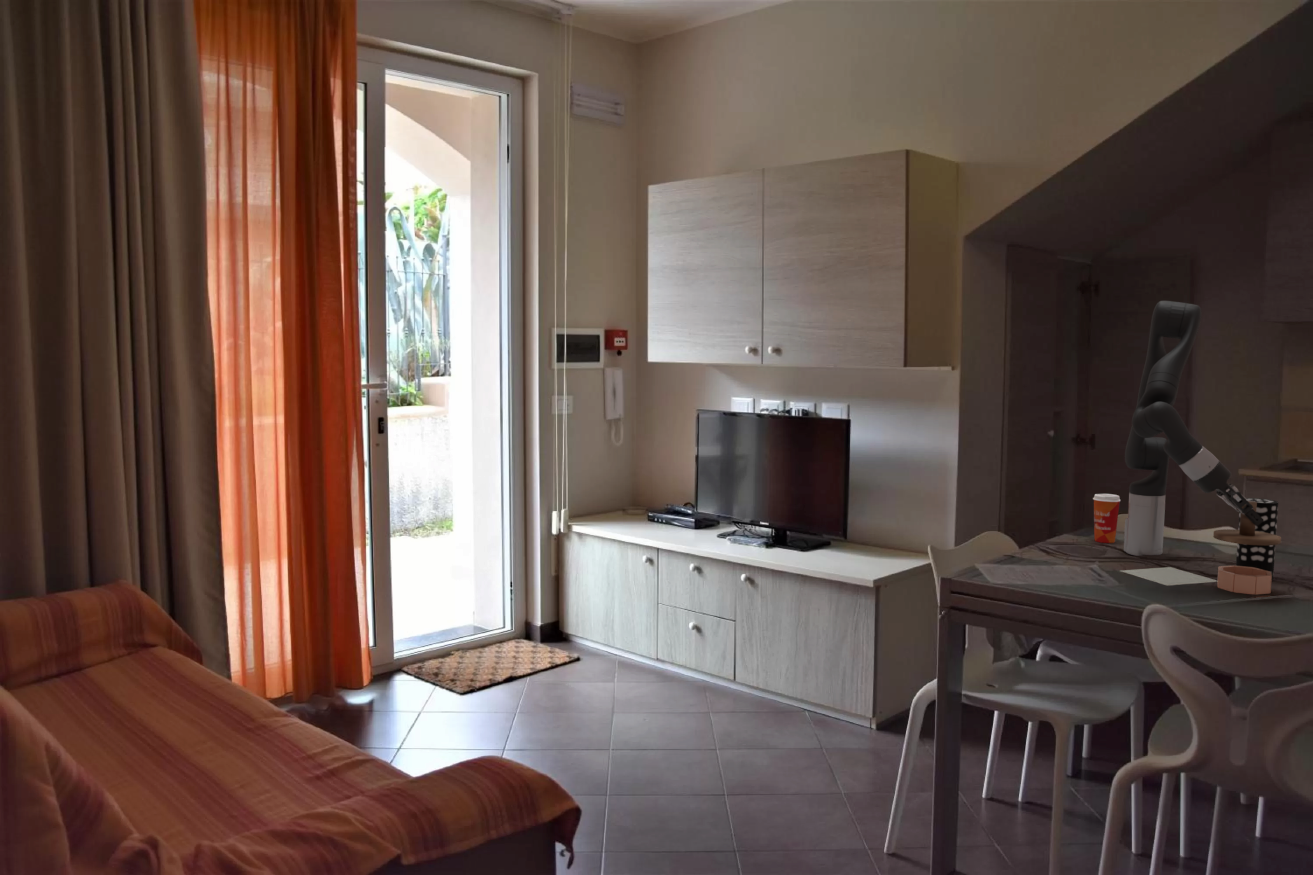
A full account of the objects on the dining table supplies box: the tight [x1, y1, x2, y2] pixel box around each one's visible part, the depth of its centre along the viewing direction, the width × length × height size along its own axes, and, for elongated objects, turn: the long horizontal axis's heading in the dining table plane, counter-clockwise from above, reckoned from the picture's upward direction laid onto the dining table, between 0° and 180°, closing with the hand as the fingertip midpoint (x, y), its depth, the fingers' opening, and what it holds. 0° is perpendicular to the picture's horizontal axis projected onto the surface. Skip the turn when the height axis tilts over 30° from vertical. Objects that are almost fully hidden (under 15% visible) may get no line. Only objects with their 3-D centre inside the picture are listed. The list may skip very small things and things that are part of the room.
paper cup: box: [1092, 493, 1121, 544], centre depth 300 cm, size 8×8×14 cm
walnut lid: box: [1212, 501, 1282, 546], centre depth 240 cm, size 14×14×9 cm
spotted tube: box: [1235, 497, 1279, 581], centre depth 254 cm, size 8×8×20 cm
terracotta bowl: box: [1216, 565, 1273, 599], centre depth 241 cm, size 11×11×5 cm
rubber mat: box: [1120, 566, 1218, 587], centre depth 254 cm, size 16×16×1 cm
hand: (1257, 521), depth 239 cm, fingers closed on walnut lid, 3 cm apart
